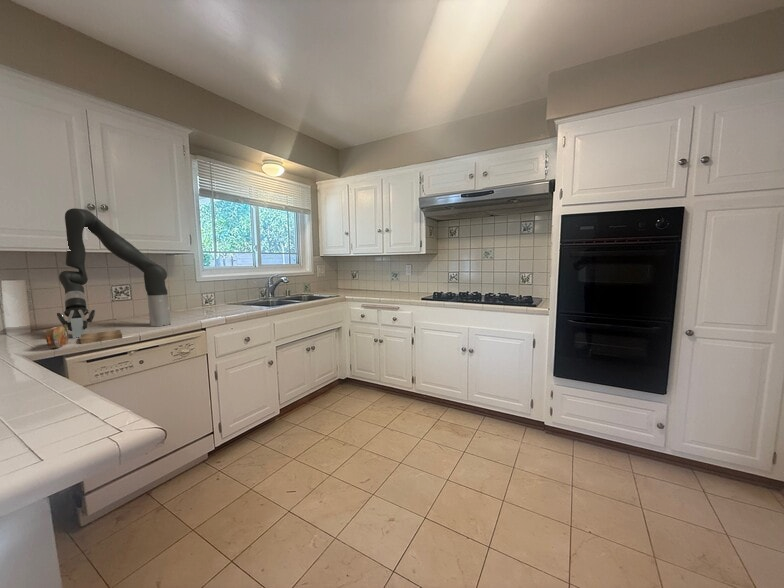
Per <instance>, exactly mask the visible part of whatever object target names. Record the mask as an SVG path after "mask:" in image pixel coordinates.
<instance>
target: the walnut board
mask: <svg viewBox="0 0 784 588" xmlns="http://www.w3.org/2000/svg"><path fill="white" fill-rule="evenodd" d="M121 339H123V334H122V331H121V329H116V330H115V329H114V330H107V331H98V332H90V333H84V334H81V337H80V345H83V344H91V343H98V342H106V341H113V340H121Z"/></svg>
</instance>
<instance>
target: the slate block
mask: <svg viewBox="0 0 784 588" xmlns="http://www.w3.org/2000/svg"><path fill="white" fill-rule="evenodd" d="M71 327H72V331H71V333H72V334H71V335H72V339H77V338H76V337H80V338H81V334H85V330H84V329H83V318H72V319H71Z"/></svg>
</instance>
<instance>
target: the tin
mask: <svg viewBox="0 0 784 588" xmlns="http://www.w3.org/2000/svg"><path fill="white" fill-rule="evenodd" d="M45 340H46V345H47V347H48V348H49V349H51V350H54V349H61V348H62V347H64V346H65V345H67V344H68V342H69V332H68V328H67V327H66V326H65V325H63V324H61V325H59V326H58V325H57V326H54V327H52V328H49V329H47V330H46V332H45ZM63 345H64V346H63Z"/></svg>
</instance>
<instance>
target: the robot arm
mask: <svg viewBox="0 0 784 588" xmlns="http://www.w3.org/2000/svg"><path fill="white" fill-rule="evenodd" d="M64 222H65V223H64V224H65V232H66V242H67V241H68V246H69V249H70V250H71V251H67V250H66V254H65V255H66V256H65V265H66V266H67V267H71V268H74V269H77V270H78V271H74V270H72V271H71V270H63V271H61V272H60V273H59V275H58V279H59V283H60V284H61V285H62V286H63V289H64V294H65V296H64V307H65V308H64V309H65V310H64V312H61V313H60V312H57V313H56V317H57V319H58V320H59V322H60V323H61V325H63V326H65V325H67V331H70V332H72V327H71V319H72V318H83V329H84V331H85V330H86V329H87V328H88V323H92V322H93V320H94V318H95V315H96V310H94V309H91V310H89V309H88V308H87V307H88V306H87V298H86V295H85V294H86V293H85V288H84V285H85V284H87V283H88V281H89V280H88V275H87V272H86V271H87V270H86V267H85V266H86V265H85V262H86V246H85V243H84V238H83V235H84V234H83V233H84V229H85V228H84V227H88V229H89V230H90V231H91V232H90V231H89V232H90V233H91V234H93V235H94V236H95V237H97V239H98V240H99V241H100V242H101V244H102V245H103V247H104V248H106V249H107V250H108V251H109V252H110V253H112V254H113V255H114V256H116V257H117V258H119V259H121V260H122V261H124V262H126V263H128V264H129V265H132V266H134V267H136V268H137V269H139V270H140V271H141V272H142V273H143V281H144V288H145V291H146V296H147V297H146V298H147V306H148V308H147V309H148V317H149V326H150V327H163V325H165V326H168V325H169V324H170V325H172V322H171V320H172V319H171V318H172V317H171V309H170V305H169V295H168V289H167V286H166V281H165V280H166V279H167V277H168V272H167V270H166V269H165V268H164V267H163V266H161V265H159V264H157V262H155V261H153V260H151V259H150V258H149V257H148V256H146V255H144V254H143V252H142V251H140V250H139V249H138V248H136V246H134V245H133V244H132V243H131V242H129V241H128V240H126V239H125V238H124V237H122V236H121V235H119V234H118V233H117V232H115V231H114V230H113V229H112V228H110V227H109V226H107V225H106V224H105V223H103V221H101V220H100V219H99V218H98V217H97V216H96V215H95V214H94V213H93V212H91V211H90V210H88V209H84V208H77V207H76V208H75V207H74V208H70V209H68V210H66V211H65V213H64ZM87 315H89V316H88V318H86V316H87ZM65 316H66V317H67V320H66V319H65Z"/></svg>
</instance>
